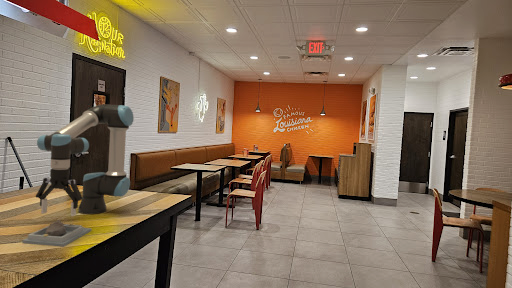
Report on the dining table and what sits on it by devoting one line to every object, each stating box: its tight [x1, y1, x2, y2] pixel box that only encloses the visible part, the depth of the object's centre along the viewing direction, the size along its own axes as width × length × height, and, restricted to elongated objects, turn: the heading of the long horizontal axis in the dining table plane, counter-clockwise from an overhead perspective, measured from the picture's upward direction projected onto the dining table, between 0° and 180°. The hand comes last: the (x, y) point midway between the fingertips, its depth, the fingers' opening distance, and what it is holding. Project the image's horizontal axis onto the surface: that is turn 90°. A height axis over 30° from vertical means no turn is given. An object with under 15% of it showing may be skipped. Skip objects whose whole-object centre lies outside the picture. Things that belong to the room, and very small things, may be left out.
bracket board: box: [22, 222, 92, 248], centre depth 149 cm, size 22×18×4 cm
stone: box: [45, 219, 66, 236], centre depth 148 cm, size 8×10×6 cm
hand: (58, 214), depth 147 cm, fingers open, 13 cm apart
